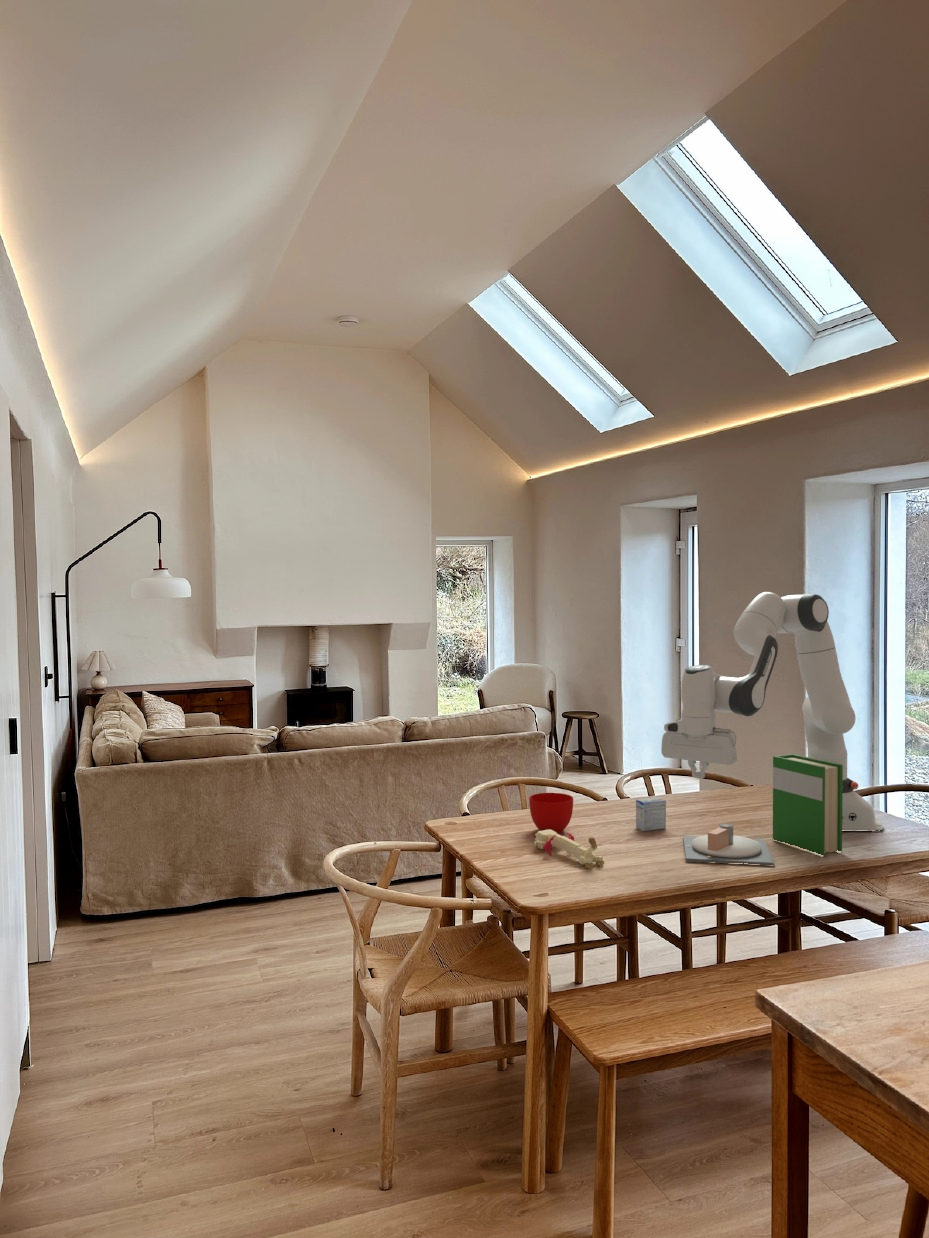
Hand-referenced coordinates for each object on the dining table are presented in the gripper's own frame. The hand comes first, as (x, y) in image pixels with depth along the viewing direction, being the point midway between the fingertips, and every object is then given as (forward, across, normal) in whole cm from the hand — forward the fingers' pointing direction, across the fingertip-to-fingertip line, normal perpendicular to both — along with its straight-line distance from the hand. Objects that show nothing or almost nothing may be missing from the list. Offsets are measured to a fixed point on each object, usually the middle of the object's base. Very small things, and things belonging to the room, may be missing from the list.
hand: (698, 777), depth 245 cm
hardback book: (+21, -21, -24) cm, 38 cm away
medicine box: (+21, +22, -16) cm, 34 cm away
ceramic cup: (+21, +45, +3) cm, 50 cm away
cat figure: (+21, +28, +23) cm, 42 cm away
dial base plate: (+21, -5, -6) cm, 22 cm away
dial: (+20, -5, -6) cm, 21 cm away
